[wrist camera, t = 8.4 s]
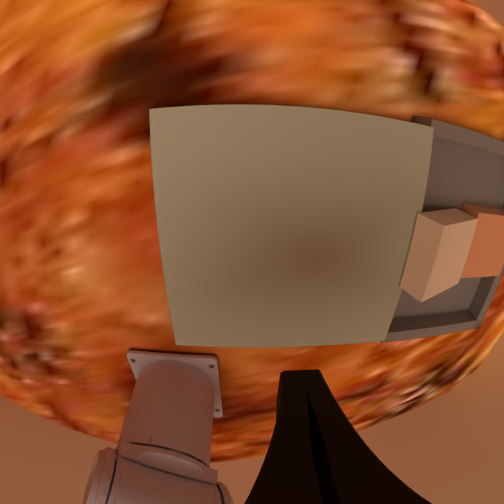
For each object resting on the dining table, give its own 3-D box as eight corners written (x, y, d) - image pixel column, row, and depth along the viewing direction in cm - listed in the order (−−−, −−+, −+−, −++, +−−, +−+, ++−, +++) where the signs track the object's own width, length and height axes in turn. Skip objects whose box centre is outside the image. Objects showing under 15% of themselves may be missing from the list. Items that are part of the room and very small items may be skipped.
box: (468, 313, 23) (479, 327, 21) (372, 324, 22) (381, 342, 20) (514, 147, 15) (532, 153, 13) (412, 116, 15) (431, 118, 13)
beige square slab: (373, 319, 22) (384, 340, 20) (181, 322, 22) (176, 345, 20) (412, 123, 15) (433, 127, 13) (162, 108, 15) (149, 109, 13)
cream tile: (438, 270, 19) (458, 283, 18) (399, 286, 17) (420, 302, 16) (455, 208, 17) (478, 218, 15) (417, 213, 15) (443, 226, 14)
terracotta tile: (486, 263, 19) (499, 275, 18) (446, 264, 19) (459, 278, 17) (502, 208, 17) (517, 217, 15) (462, 202, 17) (478, 212, 15)
